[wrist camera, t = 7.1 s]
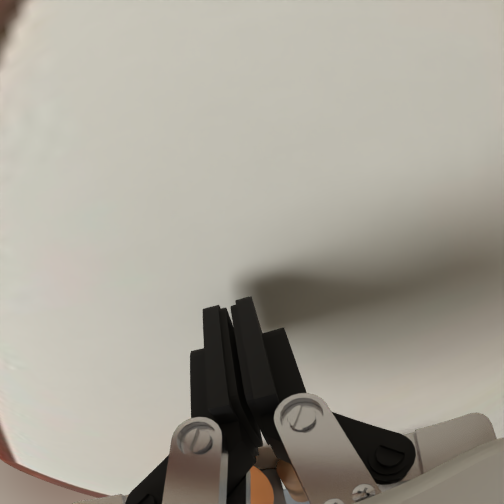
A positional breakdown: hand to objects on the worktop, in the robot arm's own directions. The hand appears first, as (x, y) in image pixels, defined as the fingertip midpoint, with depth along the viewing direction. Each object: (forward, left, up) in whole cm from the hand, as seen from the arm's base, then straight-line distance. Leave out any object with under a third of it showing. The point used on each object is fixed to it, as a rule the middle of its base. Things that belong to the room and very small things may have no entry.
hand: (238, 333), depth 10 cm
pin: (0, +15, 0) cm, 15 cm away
